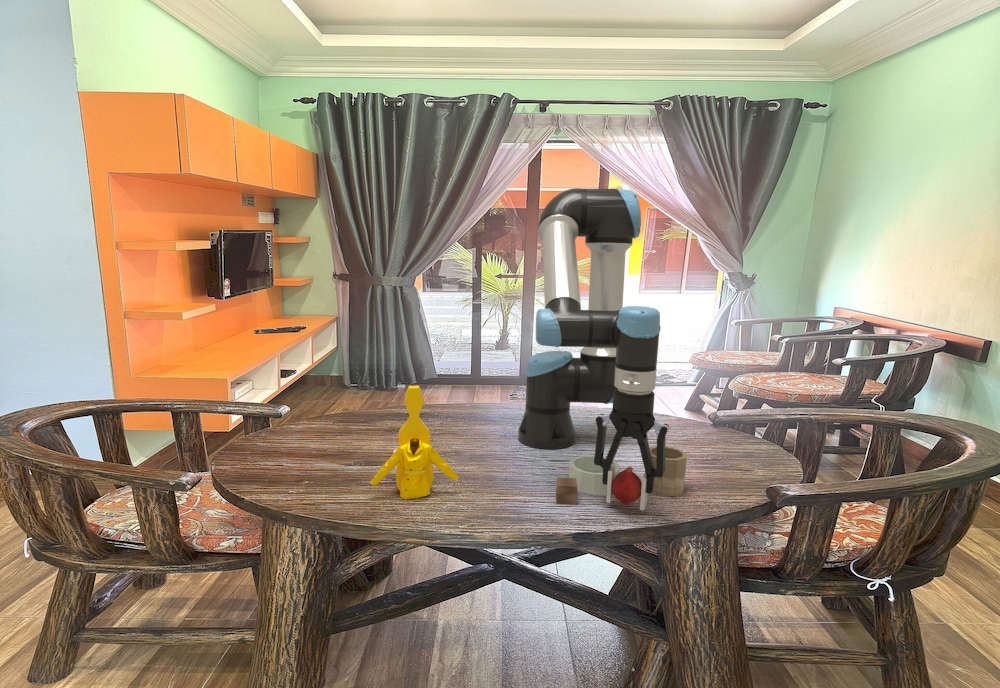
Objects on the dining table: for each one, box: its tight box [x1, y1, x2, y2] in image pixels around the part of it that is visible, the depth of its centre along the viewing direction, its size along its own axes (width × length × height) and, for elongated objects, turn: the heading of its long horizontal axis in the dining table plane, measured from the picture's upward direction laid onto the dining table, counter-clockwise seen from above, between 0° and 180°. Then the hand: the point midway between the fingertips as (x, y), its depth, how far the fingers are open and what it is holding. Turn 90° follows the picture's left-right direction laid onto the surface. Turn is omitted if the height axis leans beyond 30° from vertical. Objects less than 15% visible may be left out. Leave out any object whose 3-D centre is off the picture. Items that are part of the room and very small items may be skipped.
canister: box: [644, 445, 688, 497], centre depth 118 cm, size 8×8×8 cm
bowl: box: [568, 455, 621, 496], centre depth 120 cm, size 10×10×4 cm
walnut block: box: [555, 476, 578, 506], centre depth 112 cm, size 4×4×4 cm
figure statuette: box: [369, 384, 460, 500], centre depth 113 cm, size 18×8×22 cm, turn 100°
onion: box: [612, 466, 642, 506], centre depth 108 cm, size 6×6×8 cm
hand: (626, 503), depth 109 cm, fingers closed on onion, 6 cm apart
